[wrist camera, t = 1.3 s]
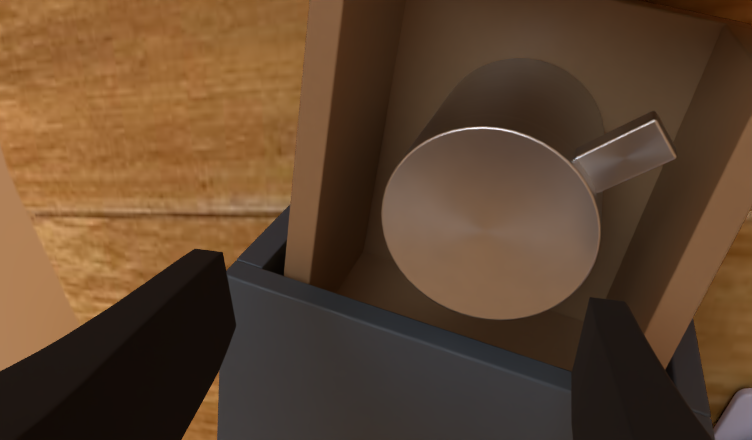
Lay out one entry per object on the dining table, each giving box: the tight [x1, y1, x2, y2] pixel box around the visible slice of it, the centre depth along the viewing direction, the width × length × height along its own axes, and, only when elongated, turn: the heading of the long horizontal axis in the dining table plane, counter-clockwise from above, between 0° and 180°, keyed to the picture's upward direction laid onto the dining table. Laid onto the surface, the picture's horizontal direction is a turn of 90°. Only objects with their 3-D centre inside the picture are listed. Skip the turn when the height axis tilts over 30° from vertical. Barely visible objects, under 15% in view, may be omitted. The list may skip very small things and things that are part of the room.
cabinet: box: [217, 205, 715, 440], centre depth 23 cm, size 15×13×9 cm
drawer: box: [284, 0, 752, 371], centre depth 16 cm, size 18×11×7 cm, turn 171°
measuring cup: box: [381, 58, 677, 320], centre depth 17 cm, size 7×5×6 cm
